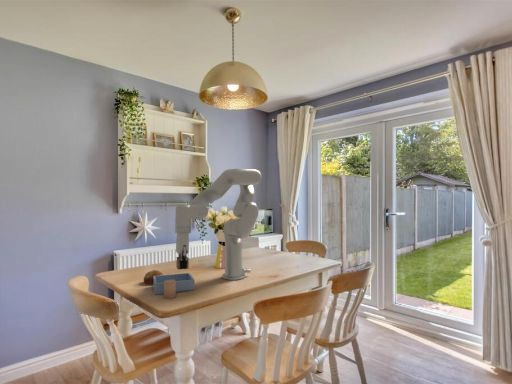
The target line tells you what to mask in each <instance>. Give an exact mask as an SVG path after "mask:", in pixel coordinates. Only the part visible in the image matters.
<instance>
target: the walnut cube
mask: <svg viewBox="0 0 512 384" xmlns="http://www.w3.org/2000/svg"><path fill="white" fill-rule="evenodd" d="M189 259H190V258H189V257H188V256H187V268H186V269H185V270H188V269H189V266H190V265H189V263H190V262H189ZM180 260H181V257H179V256H176V269H177V270H178V271H179V270H181V269H180Z"/></svg>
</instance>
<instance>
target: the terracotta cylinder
mask: <svg viewBox="0 0 512 384" xmlns="http://www.w3.org/2000/svg"><path fill="white" fill-rule="evenodd" d="M176 295H177V292H176V280H166V281H164V294H163V298H164V299H165V300H172V299H175V298H176Z"/></svg>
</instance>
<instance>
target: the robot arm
mask: <svg viewBox="0 0 512 384" xmlns="http://www.w3.org/2000/svg"><path fill="white" fill-rule="evenodd" d="M262 179H263V178H262V173H261V171H259V170H258V169H252V168H251V169H250V168H230V169H225V170H224V171H223V172H222V173H221V174H219V176H218V177H217V178H216V179H215V180H214V181H213V182H212V183H211V184H210V185H209V186H208V187H207V188H205V189H204V190H203V191H201V192H199V193H198V194H197V195H196V196H195V197H193V199H192V200H191V201H190V202H188V204H176V205H175V220H174V221H175V223H174V224H175V225H174V227H175V228H174V229H175V230H174V232H175V234H176V240H175V253H177V255H178V257H181V260H180V269H179V270H187V269H186V268H187V257H188V254H189V252H190V251H189V249H190V236H189V235H190V234H191V233H192V220H203V219H206V218H207V216H208V214H209V208H208V207H207V206H208V204H210V203H213V202H216V201H218V200H220V199H221V198H223V197H224V195H225V194H227V192H228V191H229V190H230V189H231V188H232V187H233V186H234V185H235V186H236V185H237V186H239V188H240V189H239V191H240V192H239V194H238V198H237V200H236V201H235V205H234V207H233V210H232V213H233V216H234V217H236V218H237V219H235V218H230V219H227V220H226V221H225V223H224V224H223V230H222V231H223V236H224V273H222V275H221V278H222V279H223V280H227V281H229V280H230V281H237V280H242V279H245V277H246V275H245V274H246V273H247V274H249V273H251V268H248V269H247V268H243V240H242V239H247V238H249V237H250V236H251V233H252V231H253V229H254V227H255V224H256V222H257V219H258V217H259V206H258V205H257V203H256V202H254V200H255V196H256V192H255V188H254V186H257V185H259V184H261V182H262Z"/></svg>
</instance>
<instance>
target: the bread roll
mask: <svg viewBox="0 0 512 384" xmlns="http://www.w3.org/2000/svg"><path fill="white" fill-rule="evenodd" d="M159 275H164V274H163V272H162V271H161V270H157V269H153V270H150V271H148V272H146V273H145V274H144V277H143V283H144V284H145V285H148V286H153V276H159Z"/></svg>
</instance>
